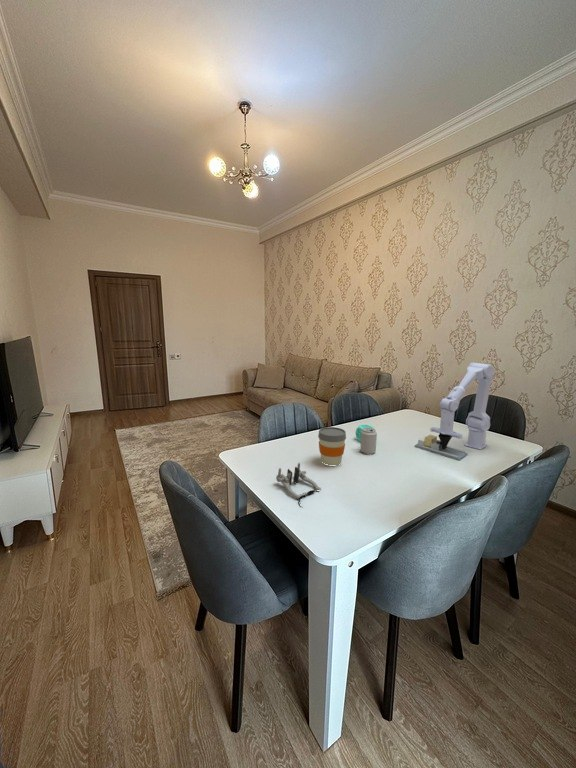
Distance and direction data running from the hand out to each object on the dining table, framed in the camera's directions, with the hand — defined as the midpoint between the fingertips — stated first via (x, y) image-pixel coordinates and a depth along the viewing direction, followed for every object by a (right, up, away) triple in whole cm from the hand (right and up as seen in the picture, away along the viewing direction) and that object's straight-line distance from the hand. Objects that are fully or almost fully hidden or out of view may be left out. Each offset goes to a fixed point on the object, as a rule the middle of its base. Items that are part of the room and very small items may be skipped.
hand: (444, 448), depth 155 cm
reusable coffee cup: (-58, -4, -11) cm, 60 cm away
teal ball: (-36, +1, +16) cm, 39 cm away
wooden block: (-5, 0, +5) cm, 7 cm away
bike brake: (-73, -9, -36) cm, 82 cm away
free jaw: (-2, 0, +3) cm, 3 cm away
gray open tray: (-1, -2, +2) cm, 3 cm away
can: (-38, -2, 0) cm, 38 cm away
